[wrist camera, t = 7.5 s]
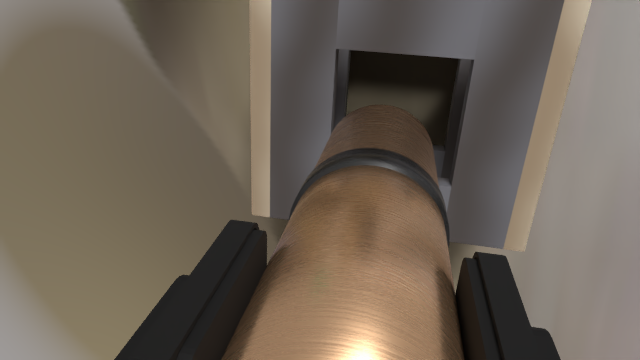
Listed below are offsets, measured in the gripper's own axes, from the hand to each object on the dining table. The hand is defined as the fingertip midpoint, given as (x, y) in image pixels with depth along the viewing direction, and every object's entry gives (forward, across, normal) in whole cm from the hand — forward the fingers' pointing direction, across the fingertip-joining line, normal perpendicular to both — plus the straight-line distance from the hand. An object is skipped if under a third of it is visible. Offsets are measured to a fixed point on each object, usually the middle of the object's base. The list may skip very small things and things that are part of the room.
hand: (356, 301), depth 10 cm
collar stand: (+22, -1, 0) cm, 22 cm away
